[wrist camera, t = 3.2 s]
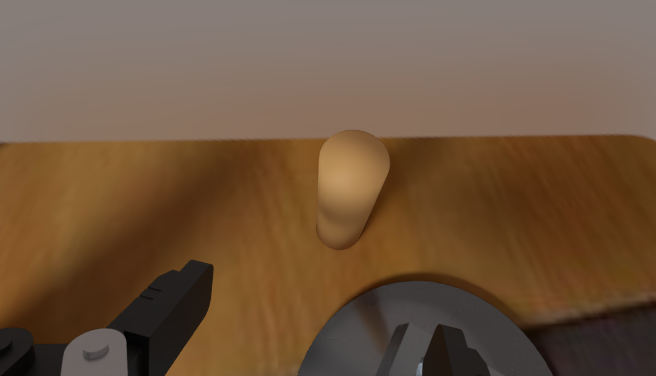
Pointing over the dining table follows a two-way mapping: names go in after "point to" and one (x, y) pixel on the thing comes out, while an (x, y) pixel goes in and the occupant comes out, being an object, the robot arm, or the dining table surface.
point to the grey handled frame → (416, 333)
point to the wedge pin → (348, 185)
